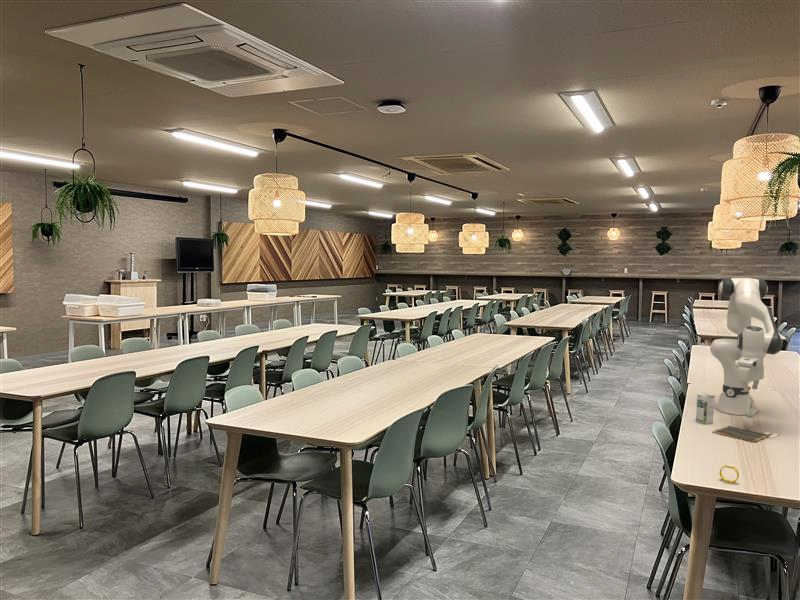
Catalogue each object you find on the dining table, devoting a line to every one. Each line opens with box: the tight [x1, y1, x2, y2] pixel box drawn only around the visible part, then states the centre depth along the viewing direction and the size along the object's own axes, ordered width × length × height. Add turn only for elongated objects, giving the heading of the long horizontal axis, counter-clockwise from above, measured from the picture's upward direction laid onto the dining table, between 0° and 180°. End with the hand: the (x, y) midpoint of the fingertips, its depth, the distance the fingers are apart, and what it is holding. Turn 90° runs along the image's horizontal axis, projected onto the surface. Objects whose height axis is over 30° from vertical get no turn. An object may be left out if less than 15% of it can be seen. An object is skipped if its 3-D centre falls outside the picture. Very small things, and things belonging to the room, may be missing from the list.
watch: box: [719, 463, 740, 483], centre depth 209 cm, size 6×3×6 cm, turn 50°
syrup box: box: [695, 391, 716, 425], centre depth 289 cm, size 6×6×14 cm
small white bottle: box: [744, 413, 755, 431], centre depth 276 cm, size 3×3×8 cm
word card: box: [763, 431, 779, 439], centre depth 269 cm, size 8×5×1 cm, turn 128°
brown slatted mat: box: [712, 425, 770, 444], centre depth 269 cm, size 17×18×1 cm
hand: (750, 390), depth 275 cm, fingers open, 8 cm apart
